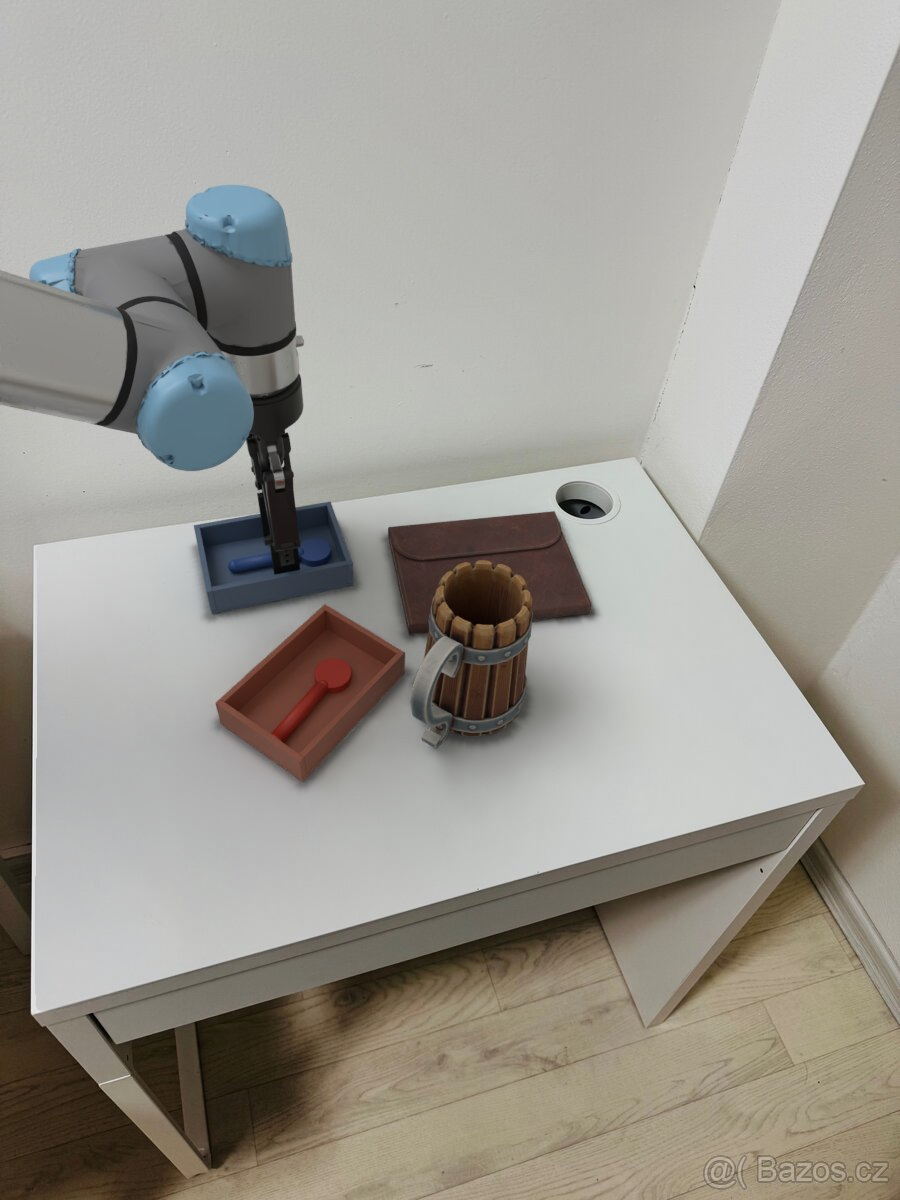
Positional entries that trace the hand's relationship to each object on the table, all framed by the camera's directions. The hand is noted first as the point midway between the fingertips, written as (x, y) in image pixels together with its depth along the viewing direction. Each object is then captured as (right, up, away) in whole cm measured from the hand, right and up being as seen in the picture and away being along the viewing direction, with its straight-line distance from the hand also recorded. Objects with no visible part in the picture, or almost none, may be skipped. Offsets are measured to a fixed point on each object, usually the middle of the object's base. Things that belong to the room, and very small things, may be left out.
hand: (281, 557), depth 92 cm
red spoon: (+5, -15, -12) cm, 20 cm away
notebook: (+22, -2, +2) cm, 23 cm away
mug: (+19, -16, -11) cm, 27 cm away
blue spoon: (0, -1, +1) cm, 1 cm away
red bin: (+5, -14, -11) cm, 19 cm away
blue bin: (-1, -1, +1) cm, 2 cm away
